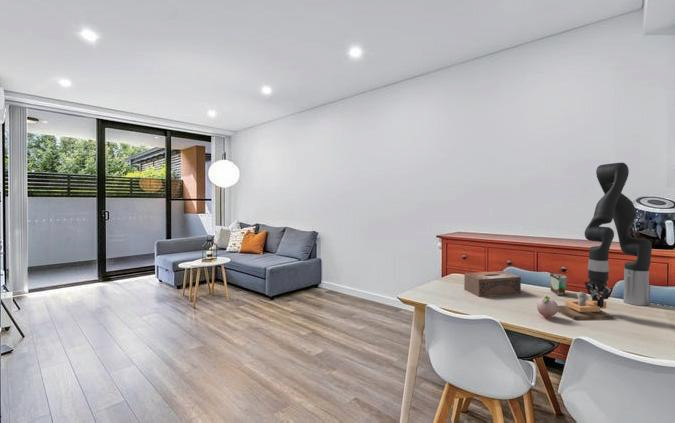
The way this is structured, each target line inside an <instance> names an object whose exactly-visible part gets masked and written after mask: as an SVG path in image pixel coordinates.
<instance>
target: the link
mask: <svg viewBox="0 0 675 423" xmlns="http://www.w3.org/2000/svg"><path fill="white" fill-rule="evenodd" d="M564 303H565V305H564V306H568V307H570V308H573V309H575V310H577V311H579V312H596V311H600V310H602V309H607V301H605V300H604V302H603V307H599V306H597V301H592V300H589V301H586V306H579V305H578V300H565V302H564Z"/></svg>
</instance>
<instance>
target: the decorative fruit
mask: <svg viewBox="0 0 675 423" xmlns="http://www.w3.org/2000/svg"><path fill="white" fill-rule="evenodd" d="M558 306H559V304H558V303H557V302H556V301H555V300H554V299H552V298H551V297H549V296H547V295H546V296H543V297H541V298H539V299H538V300H537V301H536V309H537V311H538V313H539V314H540V315H541V316H542V317H544V318H546V319H547V318H550V317H553V316H555V315H556V314H557V313H559V312H558Z"/></svg>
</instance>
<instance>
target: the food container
mask: <svg viewBox="0 0 675 423" xmlns="http://www.w3.org/2000/svg"><path fill="white" fill-rule="evenodd" d="M549 278H550V280H549V282H550V292H551V293H554V294H555V295H557V296H558V297H561V296H565V295H566V289H567V288H566V287H567V282H568V281H569V280H568V277H567V276H566V275H563V274H561V273H560V274H558V273H549Z"/></svg>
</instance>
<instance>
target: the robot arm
mask: <svg viewBox="0 0 675 423" xmlns="http://www.w3.org/2000/svg"><path fill="white" fill-rule="evenodd" d="M595 174H596V178H597V181H598V183H599V186H600V187H601V190H602V192H603V194H604V195H603V196H602V197H601V198H600V199H599V200H598V202H597V203H596V206H595V208H594V213H593V217H592V218H591V220H590V222H589V224H588V225H587V226H586V228H585V231H584V237H585V239H586V240H588V241H590V242H599V243H600V245H597V246H596V245H595V246H590V247H589V248H588V249H589V250H588V262H587V263H588V264H587V279H589V280H588V281H585V282H584V286H585V288H586V292H587V294H588V295H590V297H591V301H597V306H599V307H603V302H604V301H605V300H609V297H610V296H611V294H612V292H613V288H609V287H608V283H607V281H609V280H610V279H609V277H610V275H609V274H610V273H609V270H610V265H609V263H610V262H609V252H610V248H611V245H612V242H613V240H614V238H615V231H614V230H613V228H611V227H610V226H602V225H608V224H611V223H612V222H613V223H614V225H615V229H616V233H617V238H618V242H619V248H620V250H621V251H622V253H623V254H624V255H628V256H632V257H633V256H634V257H637V258H636V260H632V261H627V262H625V263H624V266H623V267H624V269H623V271H624V272H623V277H624V278H623V302H624V303H625V304H630V305H635V306H640V307H641V306H648V305H651V285H650V284H649V279H650V266H651V263H652V262H651V261H652V260H651V259H652V251H653V247H652V246H653V244H652V242H651V240H649V239H648V238H642V237H634V236H633V237H632V236H631V231H630V229H631V227H632V225H633V224H634V222H635V221H636V219H637V211H636V207H635V205H634V203H633V201H632V200H631V199H630V198H629V197H627V196H626V195H625V194H623V193H622V191H623V190H624V187H625V185H626V183H627V181H628V177H629V174H630V170H629V167H628V165H627V164H626V163H625V162H614V163H606V164H605V163H604V164H600V165H598V166H597V168H596V171H595Z"/></svg>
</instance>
